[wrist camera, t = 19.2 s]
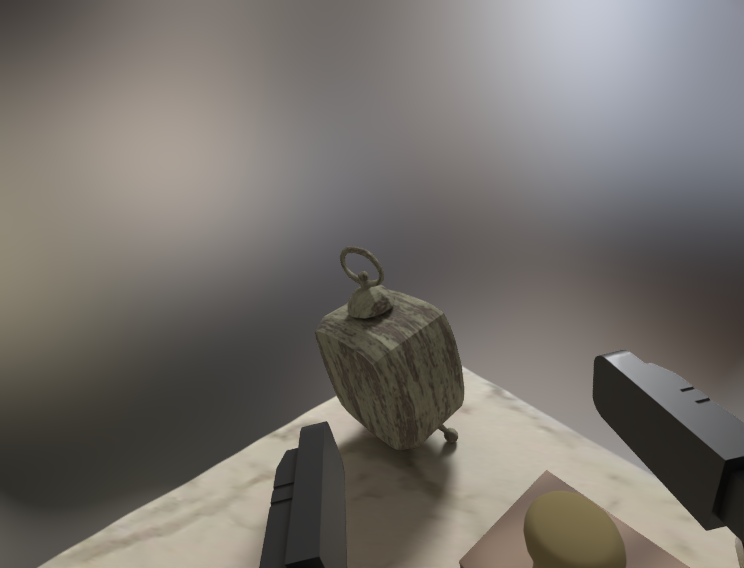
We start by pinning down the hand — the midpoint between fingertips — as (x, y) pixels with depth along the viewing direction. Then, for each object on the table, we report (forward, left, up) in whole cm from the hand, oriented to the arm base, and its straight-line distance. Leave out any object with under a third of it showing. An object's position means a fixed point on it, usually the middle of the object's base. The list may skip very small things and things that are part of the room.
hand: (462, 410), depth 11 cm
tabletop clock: (+22, +14, -27) cm, 37 cm away
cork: (+7, -3, -26) cm, 27 cm away
